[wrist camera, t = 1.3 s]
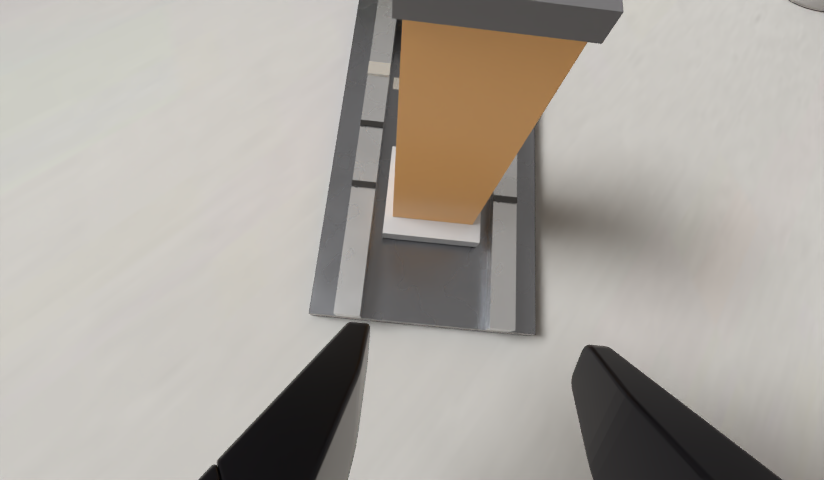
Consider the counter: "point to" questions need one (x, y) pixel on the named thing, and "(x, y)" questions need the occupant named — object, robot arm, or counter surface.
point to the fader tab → (474, 101)
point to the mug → (810, 4)
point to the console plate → (402, 259)
